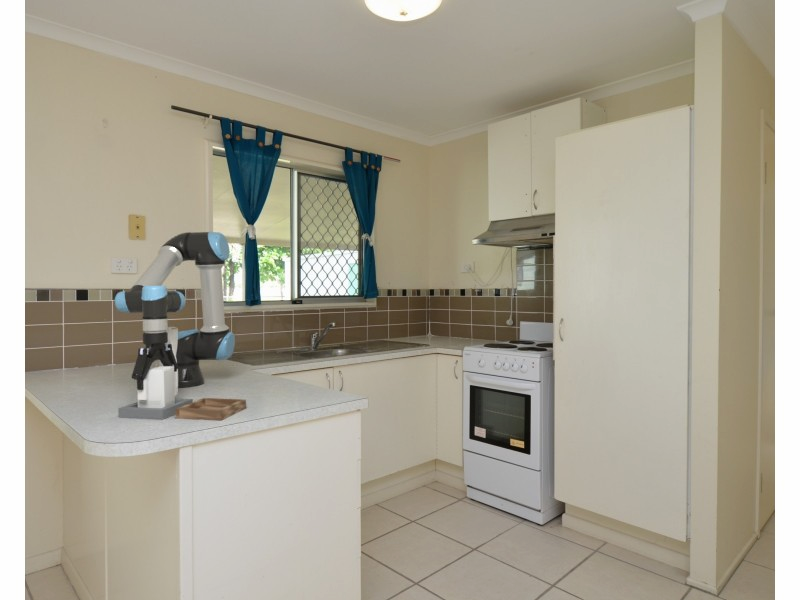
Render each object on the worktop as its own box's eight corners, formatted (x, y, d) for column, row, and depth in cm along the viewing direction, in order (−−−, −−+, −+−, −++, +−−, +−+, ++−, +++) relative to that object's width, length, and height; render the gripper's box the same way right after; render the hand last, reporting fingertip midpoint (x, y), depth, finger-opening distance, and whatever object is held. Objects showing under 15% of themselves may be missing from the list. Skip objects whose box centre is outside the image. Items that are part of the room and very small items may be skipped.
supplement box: (176, 408, 174) (175, 365, 174) (165, 415, 166) (164, 370, 165) (149, 409, 174) (148, 365, 174) (136, 416, 165) (135, 370, 165)
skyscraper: (155, 398, 191) (153, 324, 190) (158, 394, 198) (157, 322, 198) (177, 396, 193) (176, 323, 192) (180, 392, 201) (179, 322, 200)
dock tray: (203, 406, 178) (203, 397, 177) (246, 408, 174) (245, 399, 174) (175, 418, 162) (175, 409, 162) (221, 420, 159) (220, 411, 159)
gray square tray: (151, 405, 179) (151, 397, 179) (192, 407, 176) (192, 398, 176) (118, 417, 164) (118, 408, 163) (162, 419, 160) (162, 410, 160)
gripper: (169, 328, 182) (170, 387, 183) (117, 335, 158) (119, 403, 158) (187, 328, 181) (189, 387, 181) (139, 335, 156) (140, 404, 157)
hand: (156, 395), depth 170 cm, fingers open, 13 cm apart
